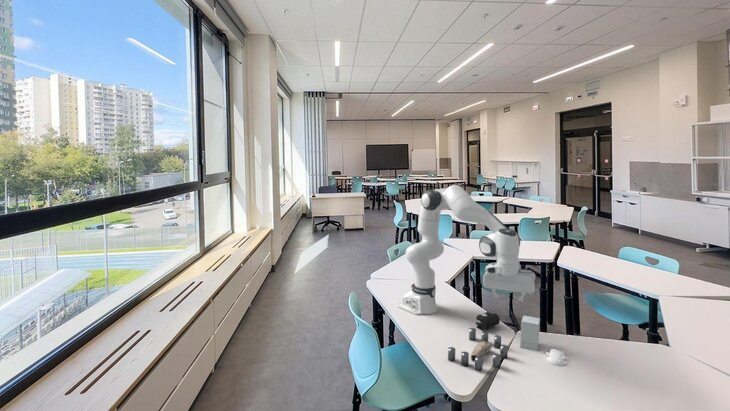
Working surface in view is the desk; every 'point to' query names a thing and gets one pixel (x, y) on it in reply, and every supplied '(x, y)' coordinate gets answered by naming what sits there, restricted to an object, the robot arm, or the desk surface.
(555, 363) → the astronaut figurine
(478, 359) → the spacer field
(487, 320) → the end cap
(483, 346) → the bone fragment
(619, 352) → the desk surface
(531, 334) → the supplement box
